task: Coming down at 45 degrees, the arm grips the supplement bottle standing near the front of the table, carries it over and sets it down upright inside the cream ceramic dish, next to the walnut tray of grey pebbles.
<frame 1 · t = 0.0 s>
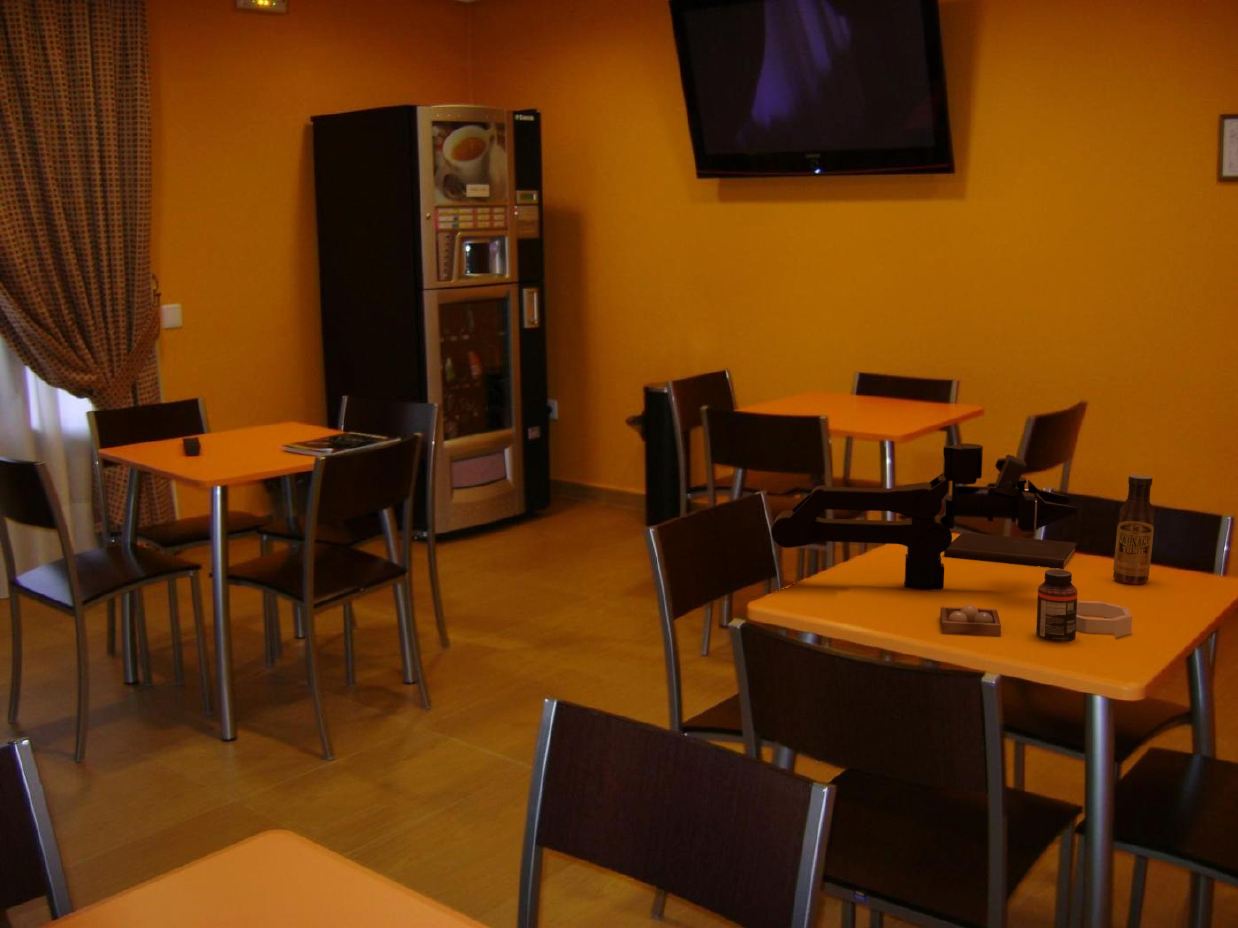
hand: (1073, 505, 224), 17 cm above the table, tool horizontal, fingers open, 9 cm apart
pebble c: (969, 622, 209), point 1 cm above the table, touching pebble tray
hardcover book: (1010, 557, 257), on the table
pebble a: (957, 629, 206), point 1 cm above the table, touching pebble tray
supplement bottle: (1055, 642, 202), on the table
pebble b: (983, 630, 205), point 1 cm above the table, touching pebble tray
sauce bottle: (1131, 582, 236), on the table
pebble tray: (969, 631, 208), on the table
dish: (1094, 628, 208), on the table
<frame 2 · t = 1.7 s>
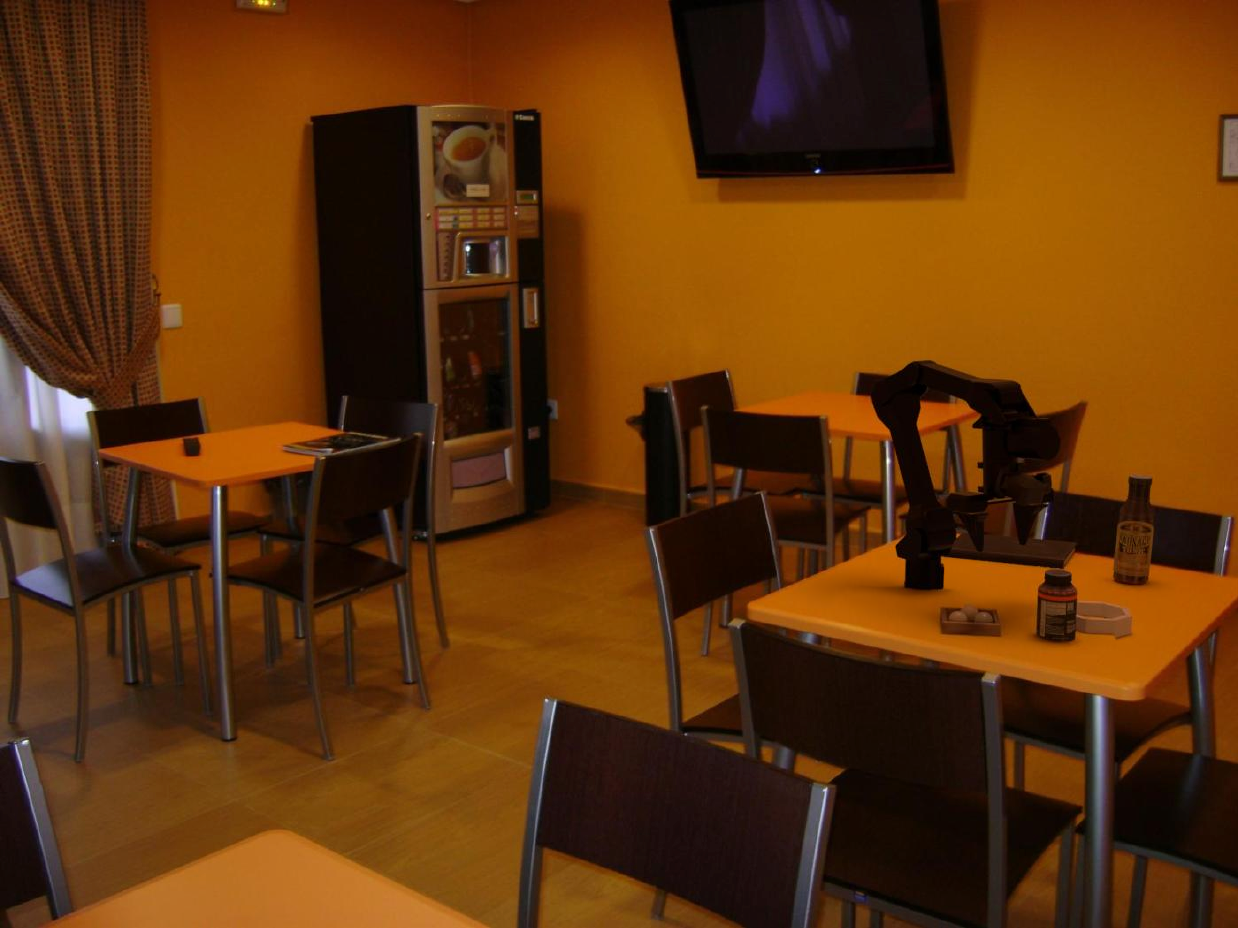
hand: (1001, 548, 215), 12 cm above the table, tool pointing down, fingers open, 9 cm apart
nothing on the table moved.
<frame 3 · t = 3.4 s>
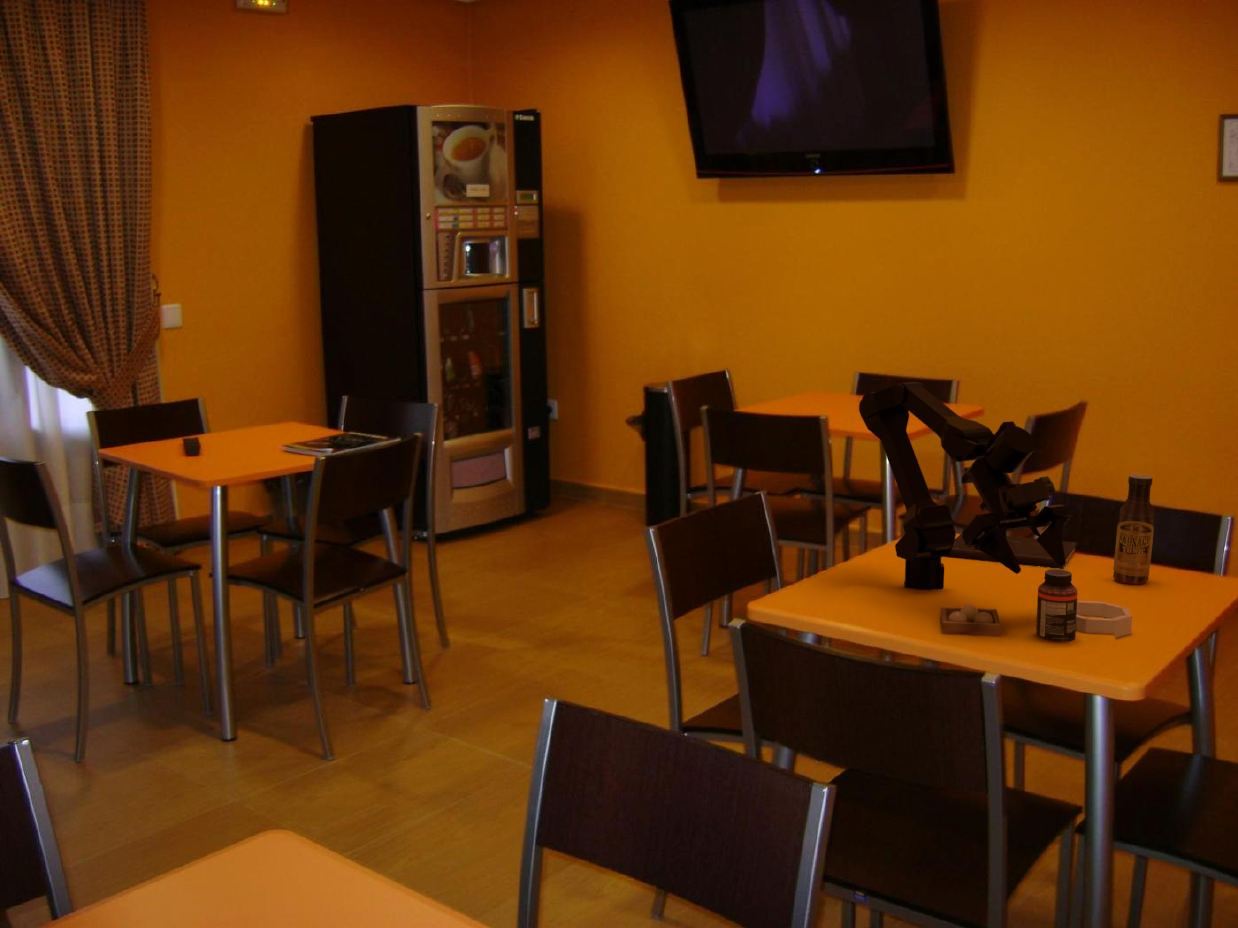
hand: (1041, 568, 204), 11 cm above the table, tool tilted 45°, fingers open, 9 cm apart
nothing on the table moved.
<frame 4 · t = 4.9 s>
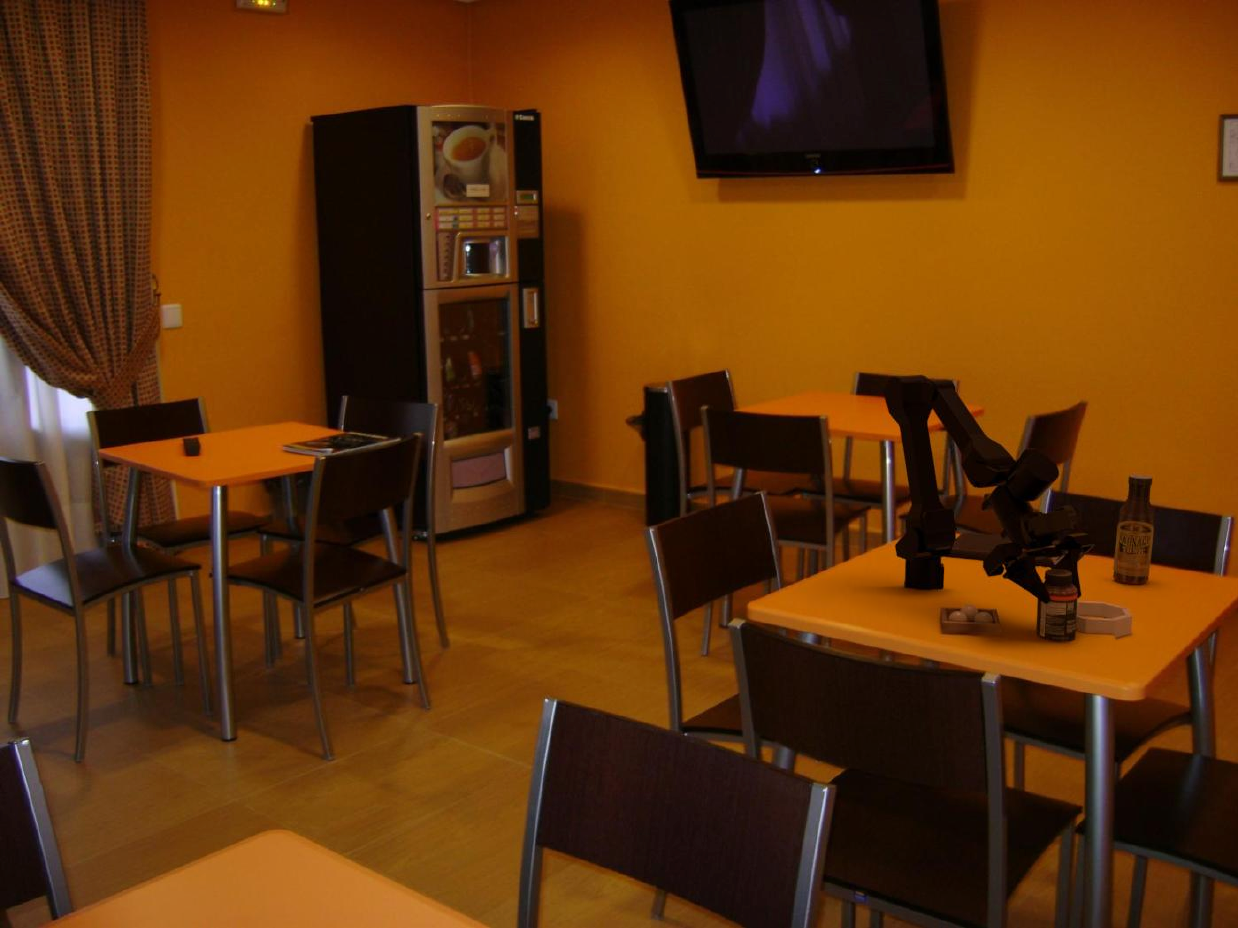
hand: (1063, 599, 200), 7 cm above the table, tool tilted 45°, fingers closed on supplement bottle, 6 cm apart
supplement bottle: (1055, 642, 202), on the table, touching gripper
everything else where it was.
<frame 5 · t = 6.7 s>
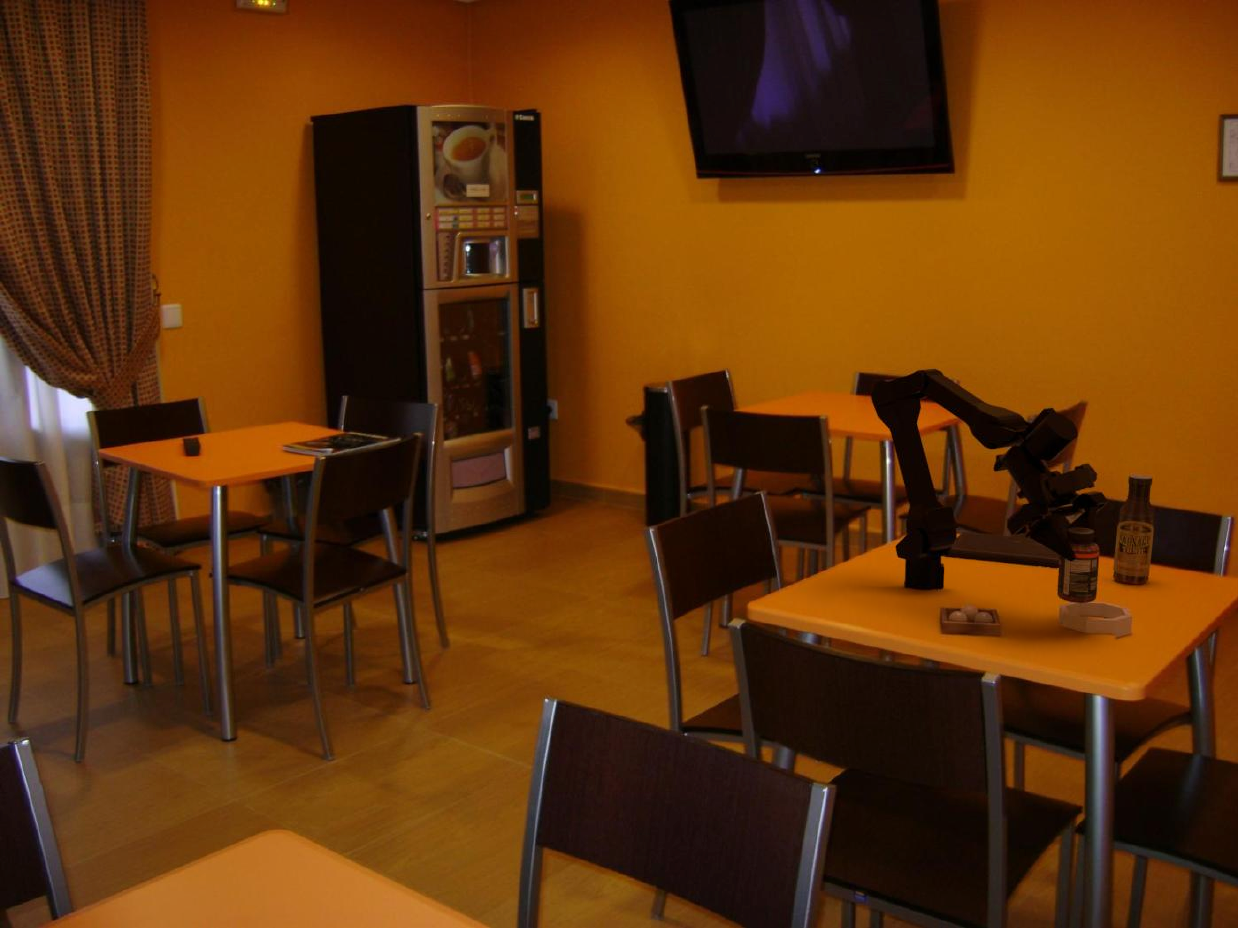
hand: (1086, 557, 201), 13 cm above the table, tool tilted 45°, fingers closed on supplement bottle, 6 cm apart
supplement bottle: (1076, 599, 204), point 6 cm above the table, touching gripper
everything else where it was.
when the fingers open (9 cm above the table, at t = 8.7 s): supplement bottle stays where it is, resting on dish.
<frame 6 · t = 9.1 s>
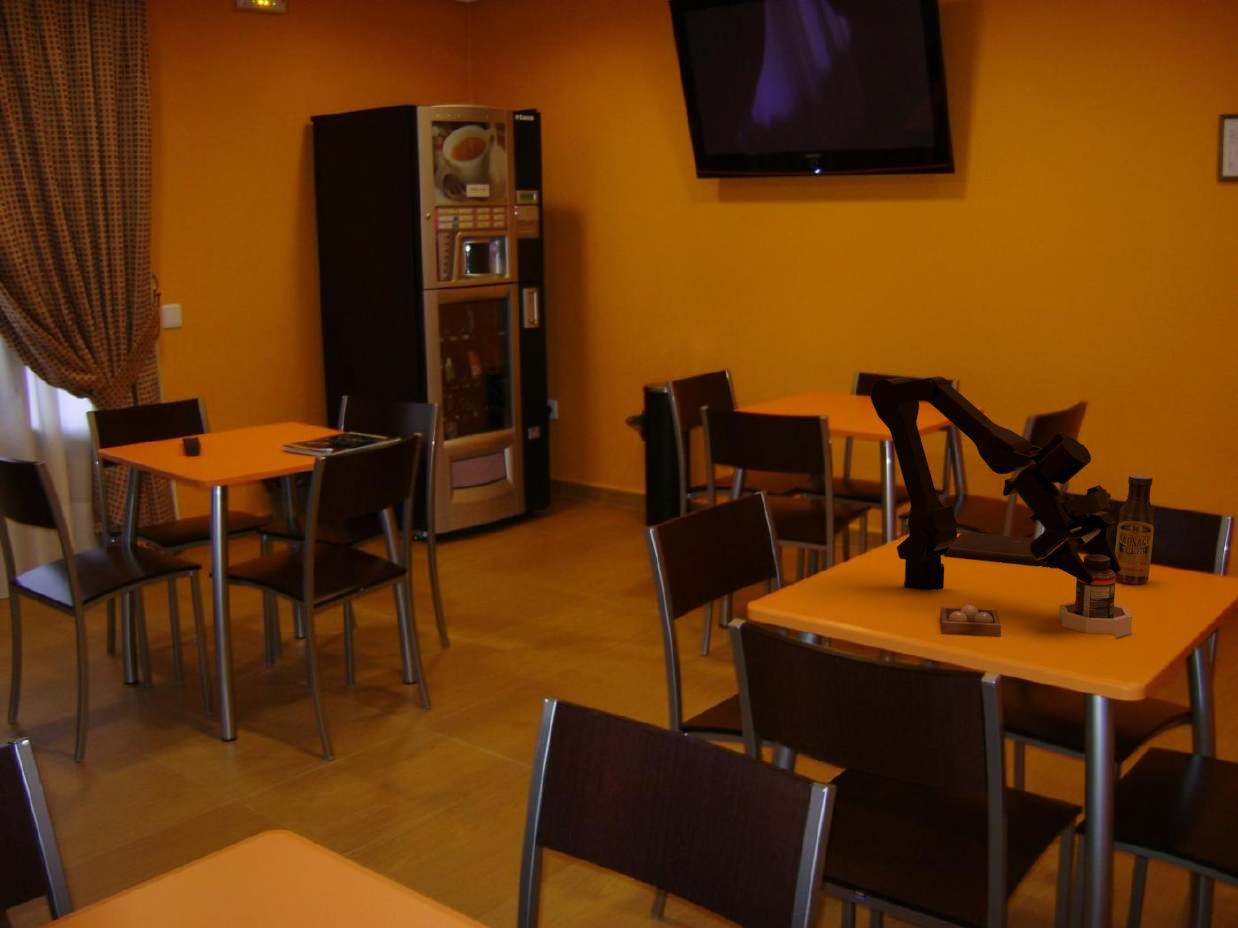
hand: (1105, 577, 206), 9 cm above the table, tool tilted 45°, fingers open, 9 cm apart
supplement bottle: (1093, 625, 209), resting on dish
everything else where it was.
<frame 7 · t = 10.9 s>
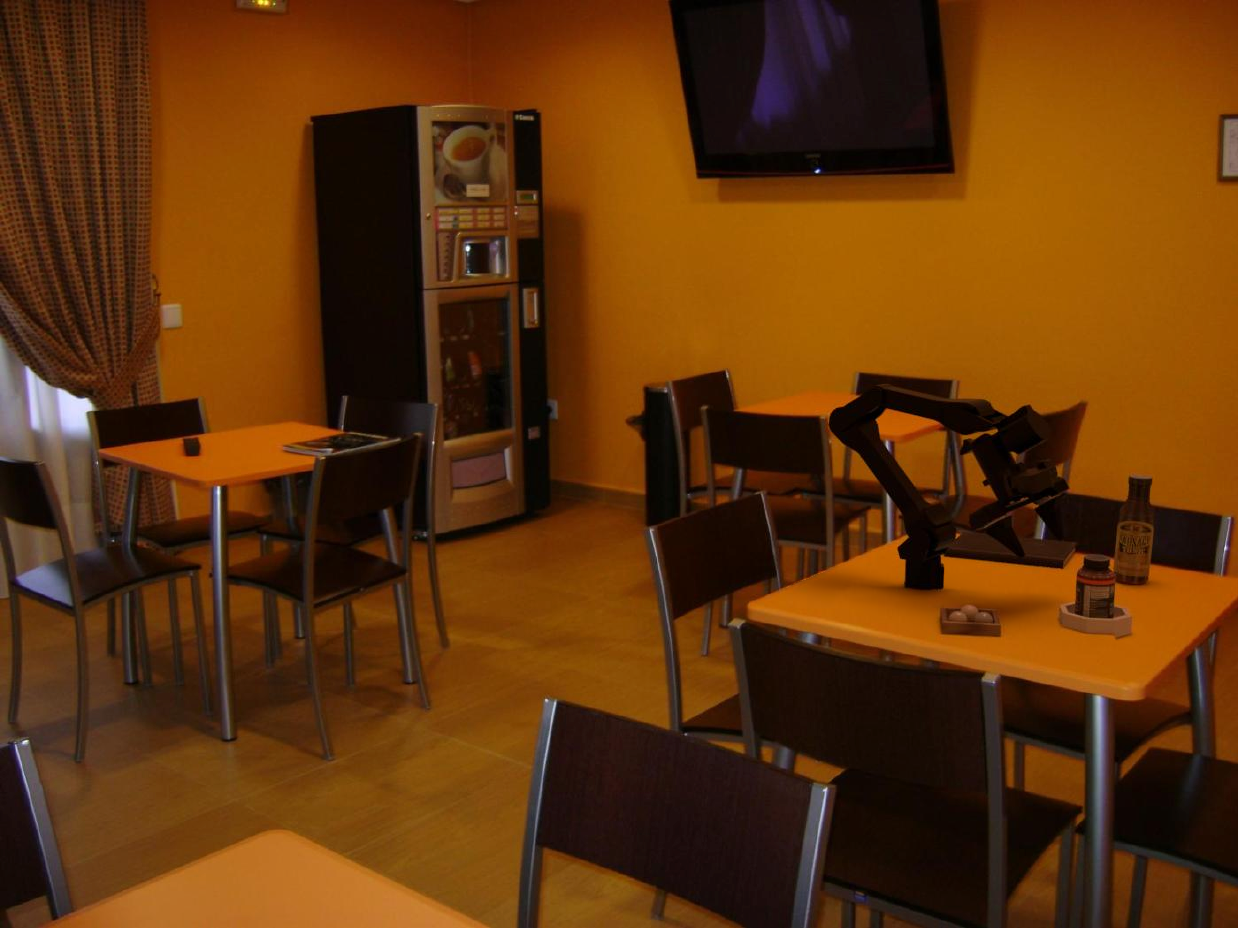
hand: (1042, 548, 215), 11 cm above the table, tool tilted 35°, fingers open, 9 cm apart
nothing on the table moved.
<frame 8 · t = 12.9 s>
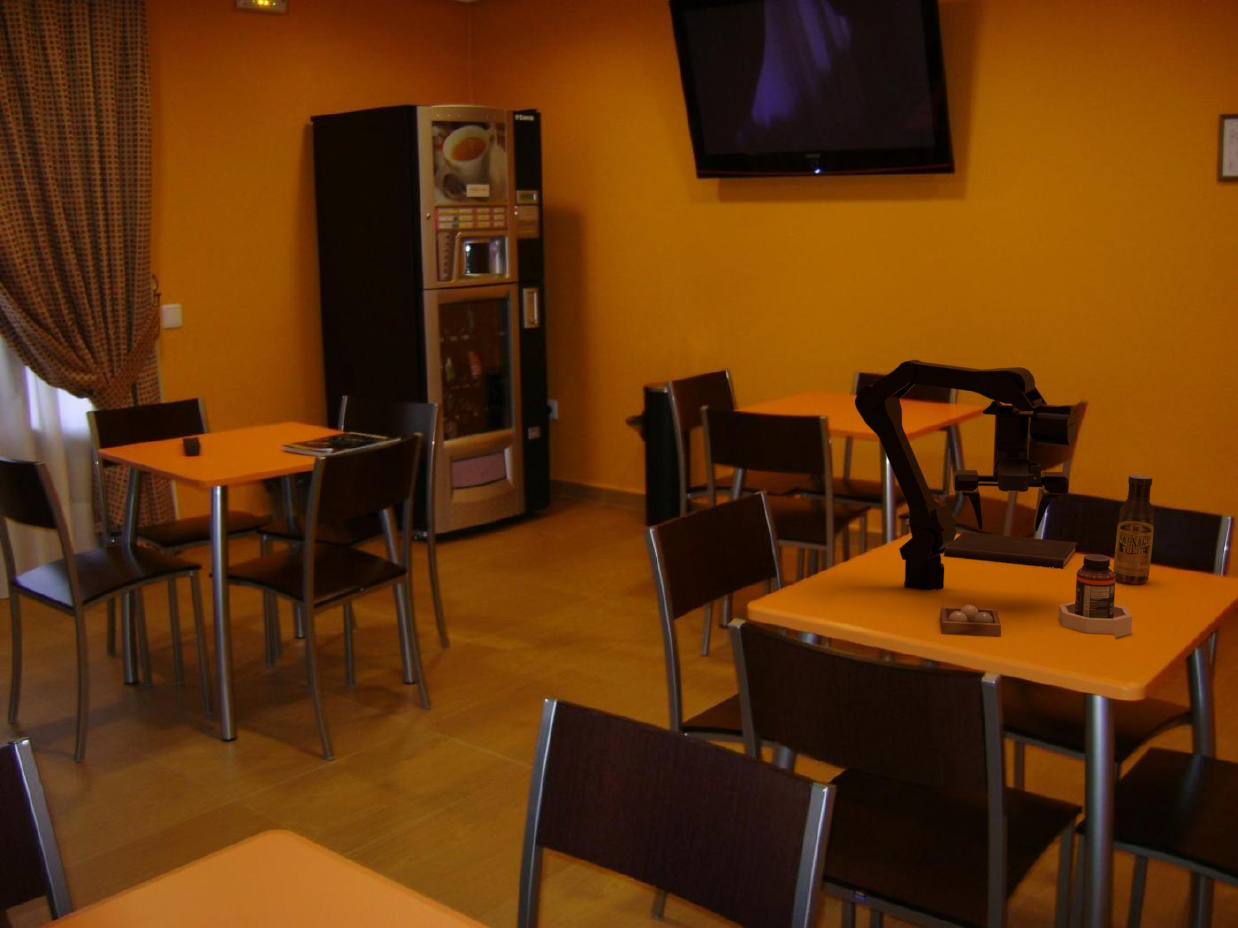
hand: (1007, 530, 221), 13 cm above the table, tool pointing down, fingers open, 9 cm apart
nothing on the table moved.
at the end: supplement bottle 0.3 cm from the dish (horizontally); supplement bottle tilted 0°; supplement bottle resting on dish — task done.
